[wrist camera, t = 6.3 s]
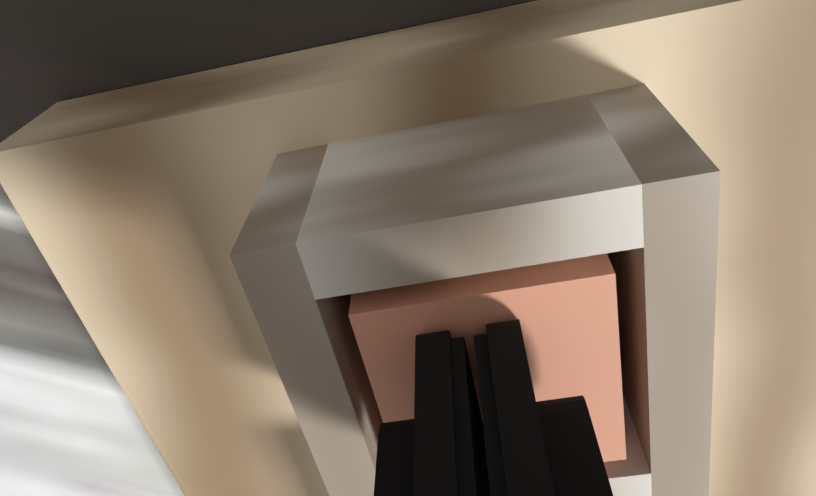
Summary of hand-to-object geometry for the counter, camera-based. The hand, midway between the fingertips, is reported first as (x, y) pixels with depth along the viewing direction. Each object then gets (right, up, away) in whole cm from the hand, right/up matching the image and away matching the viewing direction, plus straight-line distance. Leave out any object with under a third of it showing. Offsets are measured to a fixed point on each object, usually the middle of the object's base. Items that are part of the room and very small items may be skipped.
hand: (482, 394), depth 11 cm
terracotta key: (0, +2, +3) cm, 3 cm away
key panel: (+1, 0, +8) cm, 8 cm away
